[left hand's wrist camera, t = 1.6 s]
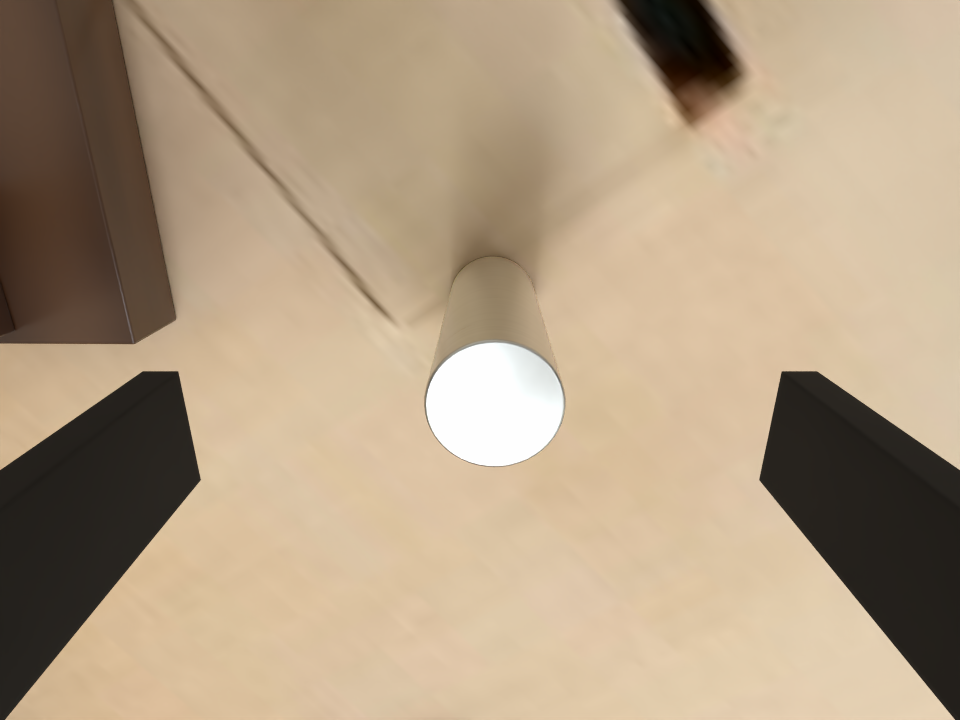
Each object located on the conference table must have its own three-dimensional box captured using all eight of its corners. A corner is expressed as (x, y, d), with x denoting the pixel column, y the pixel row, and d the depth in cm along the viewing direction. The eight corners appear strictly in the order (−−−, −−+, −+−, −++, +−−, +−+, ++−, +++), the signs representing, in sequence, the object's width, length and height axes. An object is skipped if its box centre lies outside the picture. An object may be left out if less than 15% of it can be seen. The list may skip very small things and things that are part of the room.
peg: (536, 255, 22) (569, 340, 13) (533, 338, 24) (562, 468, 14) (449, 255, 22) (421, 339, 13) (451, 337, 24) (426, 467, 14)
